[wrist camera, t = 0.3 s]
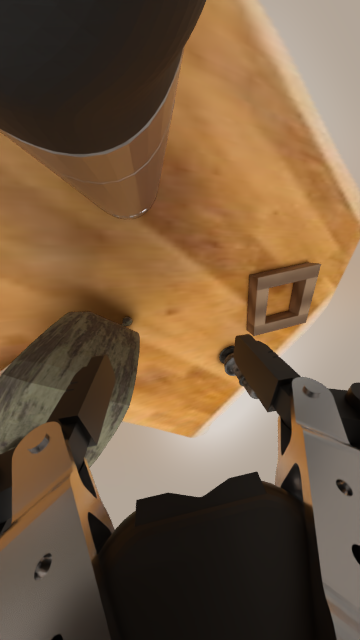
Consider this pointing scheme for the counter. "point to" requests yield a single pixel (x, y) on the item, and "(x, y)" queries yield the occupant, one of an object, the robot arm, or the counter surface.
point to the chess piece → (235, 369)
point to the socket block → (299, 303)
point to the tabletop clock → (66, 375)
